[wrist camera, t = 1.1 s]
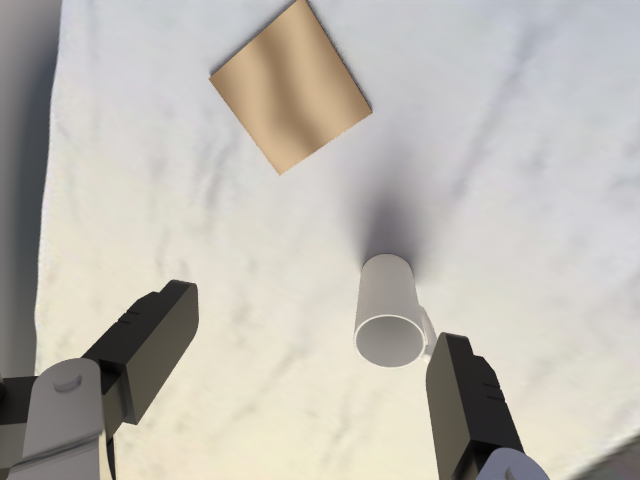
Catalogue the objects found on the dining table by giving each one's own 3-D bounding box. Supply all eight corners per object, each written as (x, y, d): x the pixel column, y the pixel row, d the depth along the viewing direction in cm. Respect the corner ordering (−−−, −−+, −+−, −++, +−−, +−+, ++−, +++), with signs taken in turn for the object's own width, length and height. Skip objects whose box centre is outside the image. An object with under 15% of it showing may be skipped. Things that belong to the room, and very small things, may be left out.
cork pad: (303, -4, 33) (302, -5, 32) (372, 111, 36) (372, 112, 36) (210, 78, 37) (208, 78, 37) (280, 174, 41) (279, 175, 40)
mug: (348, 277, 46) (339, 344, 35) (381, 241, 43) (383, 301, 32) (410, 319, 47) (419, 394, 37) (446, 286, 44) (468, 358, 34)
